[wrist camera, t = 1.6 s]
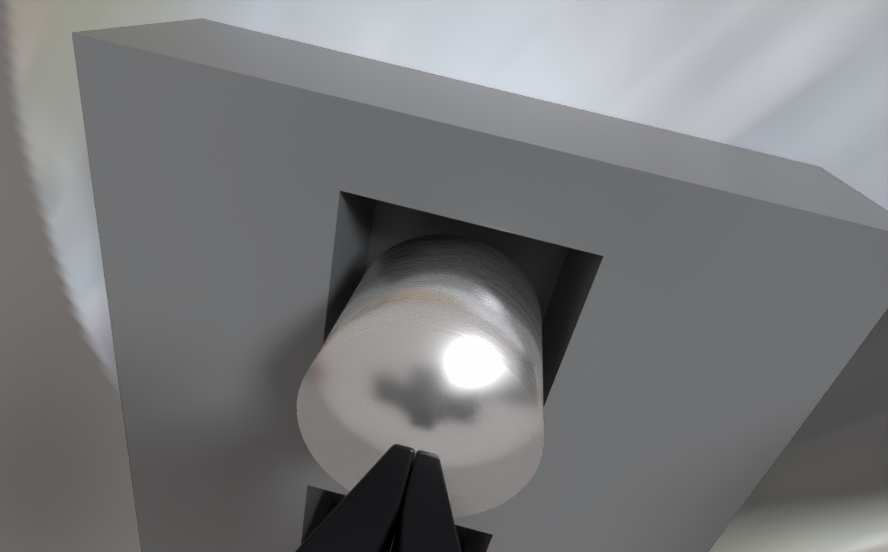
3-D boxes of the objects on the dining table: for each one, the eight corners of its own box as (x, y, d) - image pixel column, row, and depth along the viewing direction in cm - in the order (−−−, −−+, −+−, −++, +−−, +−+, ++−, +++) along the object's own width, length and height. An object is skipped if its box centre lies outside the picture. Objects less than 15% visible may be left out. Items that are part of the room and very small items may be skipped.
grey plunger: (567, 262, 13) (579, 369, 9) (513, 411, 15) (506, 541, 11) (368, 212, 13) (305, 299, 9) (346, 368, 15) (289, 483, 12)
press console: (820, 166, 15) (936, 242, 11) (585, 578, 25) (595, 704, 21) (201, 18, 16) (71, 32, 11) (212, 477, 25) (145, 579, 21)
